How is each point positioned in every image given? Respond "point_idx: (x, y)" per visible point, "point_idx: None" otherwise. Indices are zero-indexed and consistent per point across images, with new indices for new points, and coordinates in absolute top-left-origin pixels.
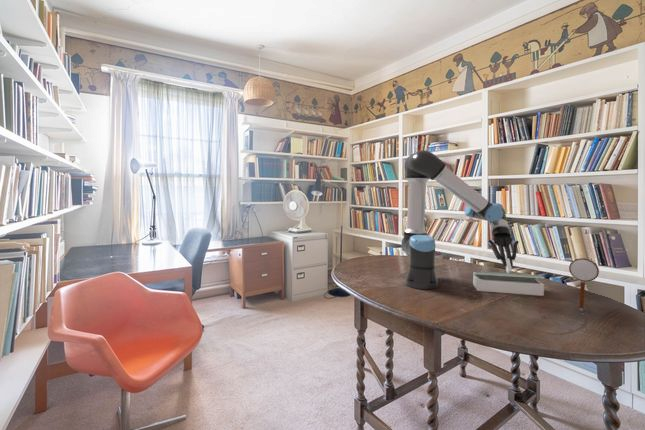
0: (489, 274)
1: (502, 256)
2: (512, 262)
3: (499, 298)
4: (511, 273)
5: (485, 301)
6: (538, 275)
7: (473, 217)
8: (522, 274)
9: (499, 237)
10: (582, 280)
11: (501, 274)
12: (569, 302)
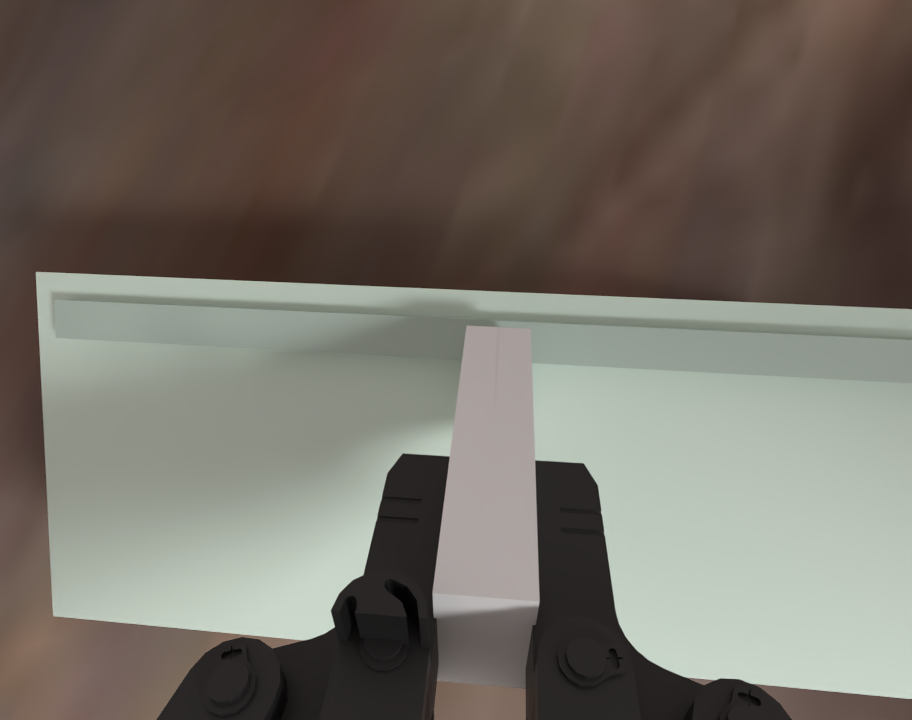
0: (843, 308)
1: (635, 692)
2: (377, 521)
3: (668, 134)
4: (482, 320)
5: (832, 13)
6: (90, 302)
7: None
8: (315, 312)
9: None
10: None
11: (649, 299)
12: (64, 169)
